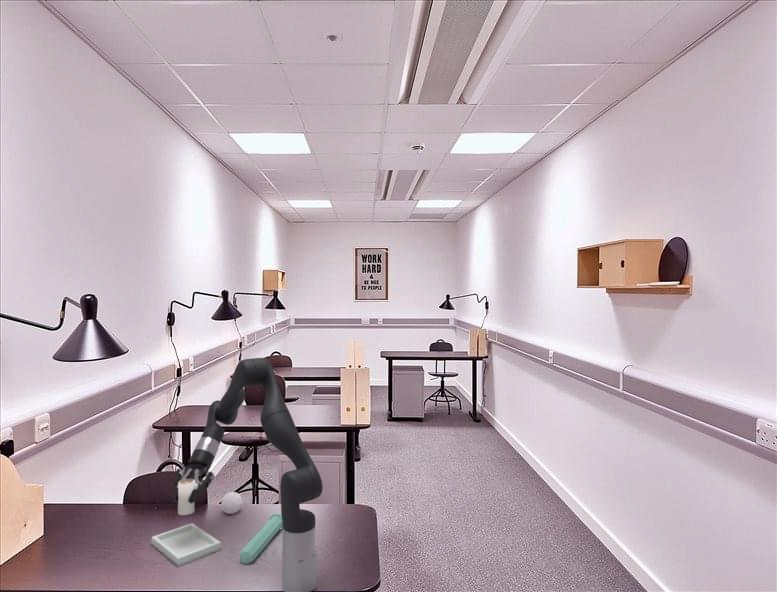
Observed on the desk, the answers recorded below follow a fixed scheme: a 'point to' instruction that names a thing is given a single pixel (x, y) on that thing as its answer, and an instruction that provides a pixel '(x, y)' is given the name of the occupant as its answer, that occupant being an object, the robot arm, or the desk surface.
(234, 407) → the robot arm
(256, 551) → the green faceted rod
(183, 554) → the tray
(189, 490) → the cup
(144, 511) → the desk surface
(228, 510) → the geometric ball
